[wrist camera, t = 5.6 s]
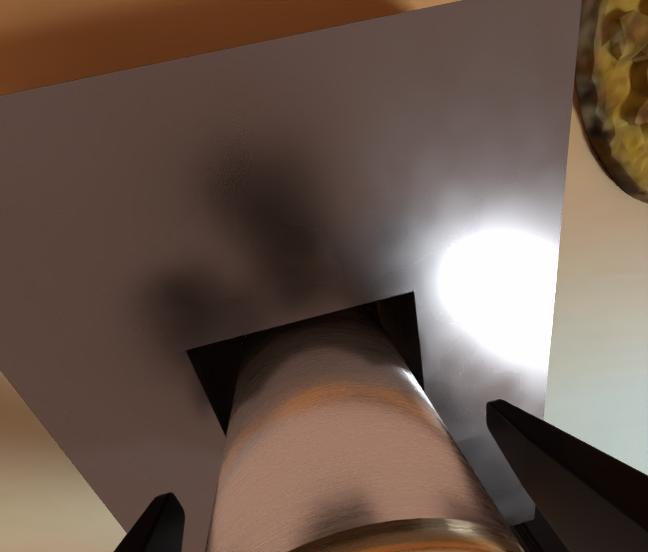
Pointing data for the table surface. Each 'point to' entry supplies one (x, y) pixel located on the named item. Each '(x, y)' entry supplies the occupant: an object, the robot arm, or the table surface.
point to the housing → (286, 232)
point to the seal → (616, 88)
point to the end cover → (343, 451)
